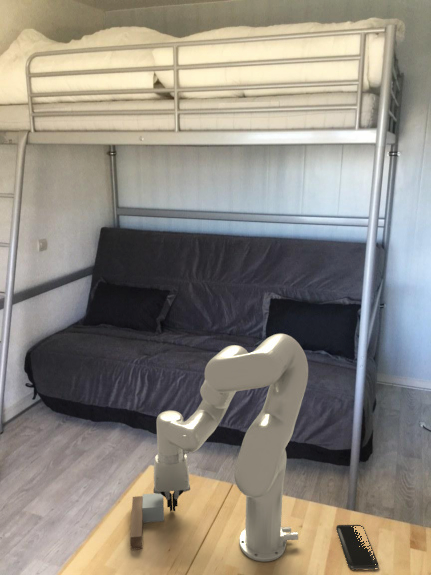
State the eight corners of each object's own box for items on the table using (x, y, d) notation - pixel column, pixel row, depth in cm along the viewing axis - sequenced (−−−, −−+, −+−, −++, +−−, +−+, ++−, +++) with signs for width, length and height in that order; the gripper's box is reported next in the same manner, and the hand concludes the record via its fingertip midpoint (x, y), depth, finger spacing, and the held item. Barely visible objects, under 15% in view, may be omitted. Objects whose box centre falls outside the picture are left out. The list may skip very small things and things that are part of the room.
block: (163, 506, 149) (163, 492, 148) (163, 521, 143) (163, 506, 142) (143, 508, 148) (142, 494, 147) (142, 522, 143) (142, 508, 141)
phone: (349, 567, 127) (335, 524, 141) (349, 571, 127) (335, 528, 141) (380, 567, 127) (363, 524, 141) (379, 571, 127) (362, 528, 141)
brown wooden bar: (143, 507, 149) (142, 496, 148) (142, 548, 133) (141, 536, 132) (133, 508, 148) (132, 496, 147) (130, 549, 133) (130, 537, 132)
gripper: (195, 444, 146) (196, 497, 151) (144, 448, 144) (147, 501, 149) (198, 459, 139) (198, 514, 144) (144, 463, 137) (146, 519, 142)
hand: (172, 508), depth 146 cm, fingers closed
